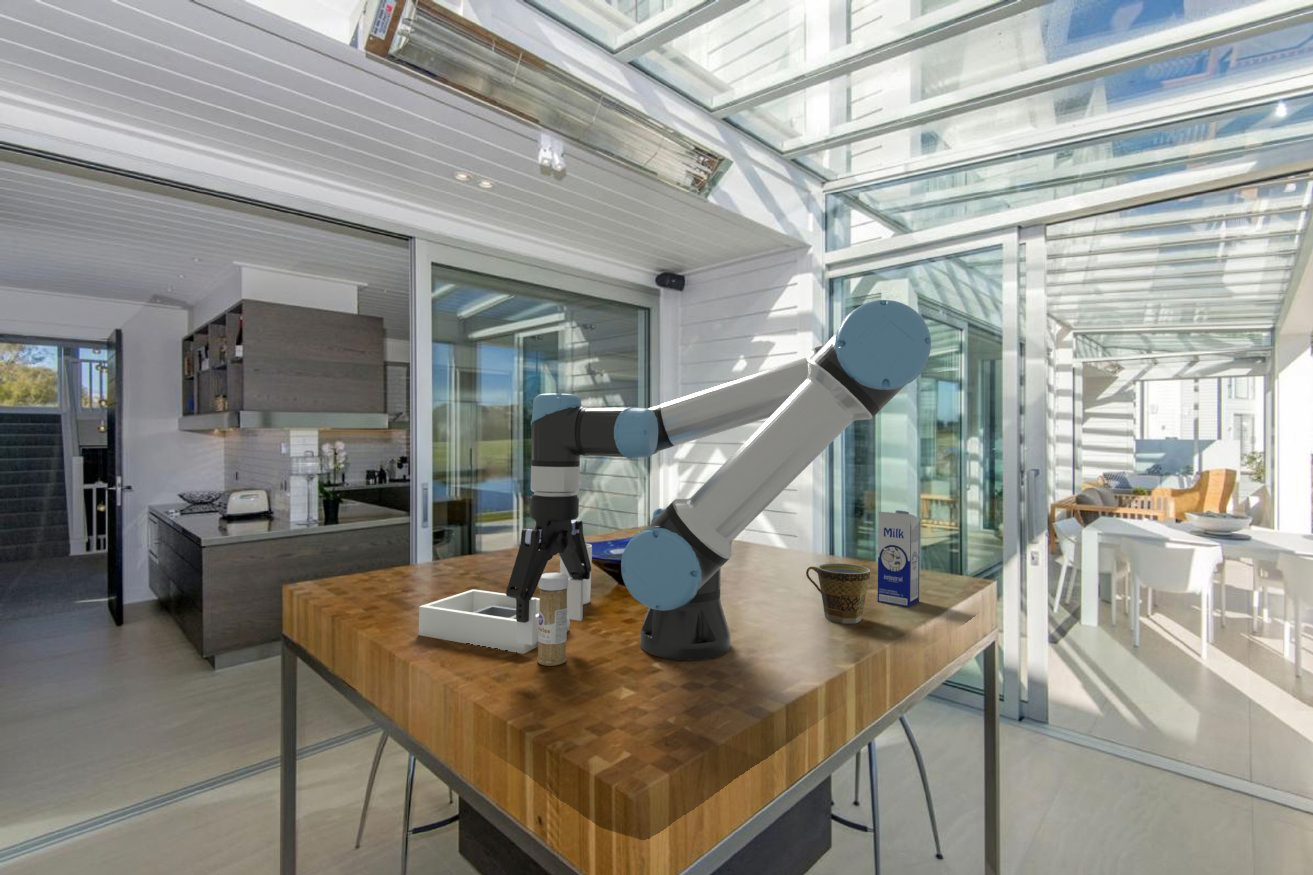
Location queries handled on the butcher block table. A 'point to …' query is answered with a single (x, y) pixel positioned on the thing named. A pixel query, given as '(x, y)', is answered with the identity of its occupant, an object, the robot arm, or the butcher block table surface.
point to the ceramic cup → (842, 590)
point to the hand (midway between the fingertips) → (551, 630)
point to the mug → (585, 581)
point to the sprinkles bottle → (552, 619)
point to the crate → (476, 620)
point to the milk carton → (898, 558)
